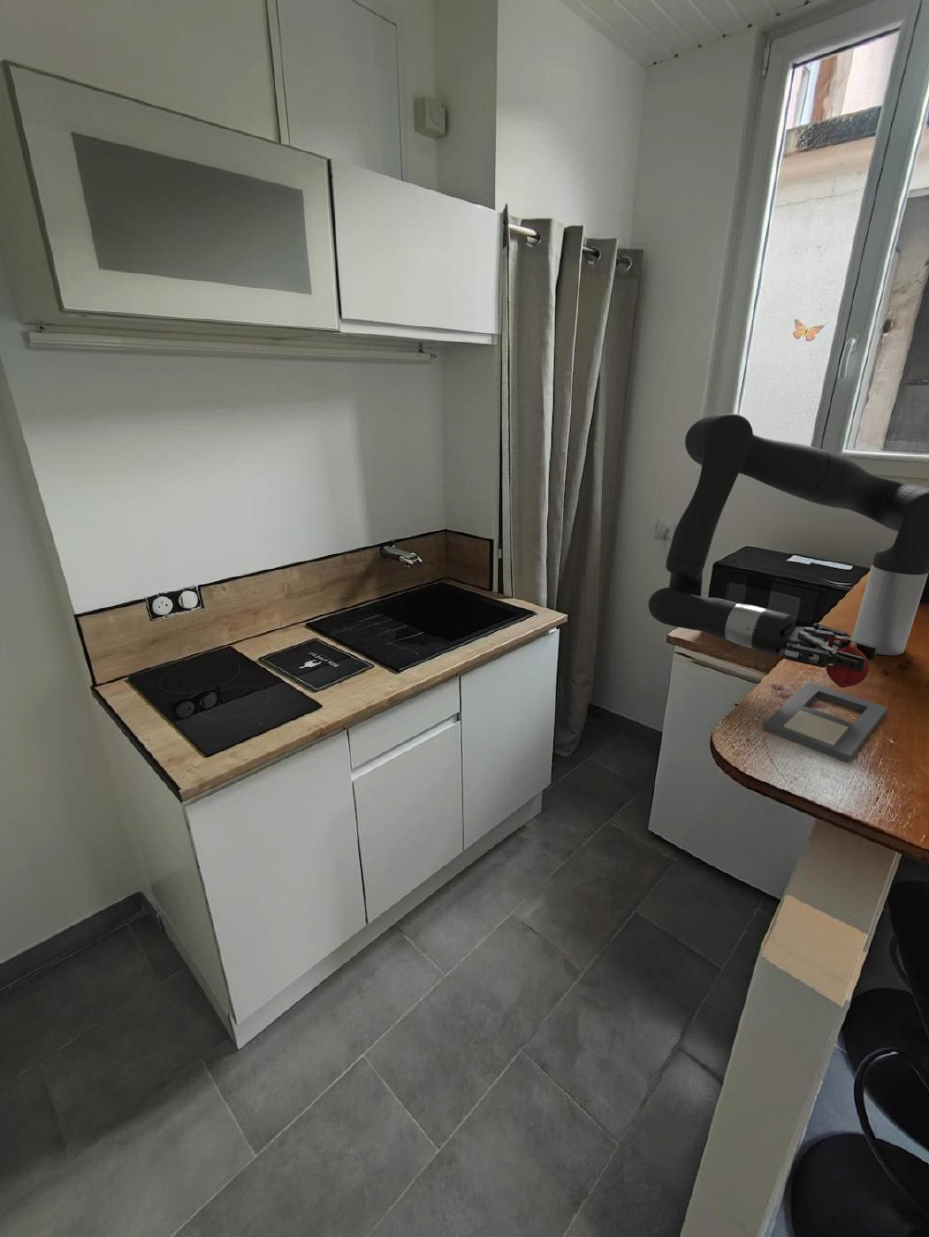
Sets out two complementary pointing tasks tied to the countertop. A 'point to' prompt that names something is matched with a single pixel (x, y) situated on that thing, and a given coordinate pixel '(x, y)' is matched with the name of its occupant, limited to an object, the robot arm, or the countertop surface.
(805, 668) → the countertop surface
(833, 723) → the tray
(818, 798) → the countertop surface
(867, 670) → the onion
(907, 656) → the countertop surface
